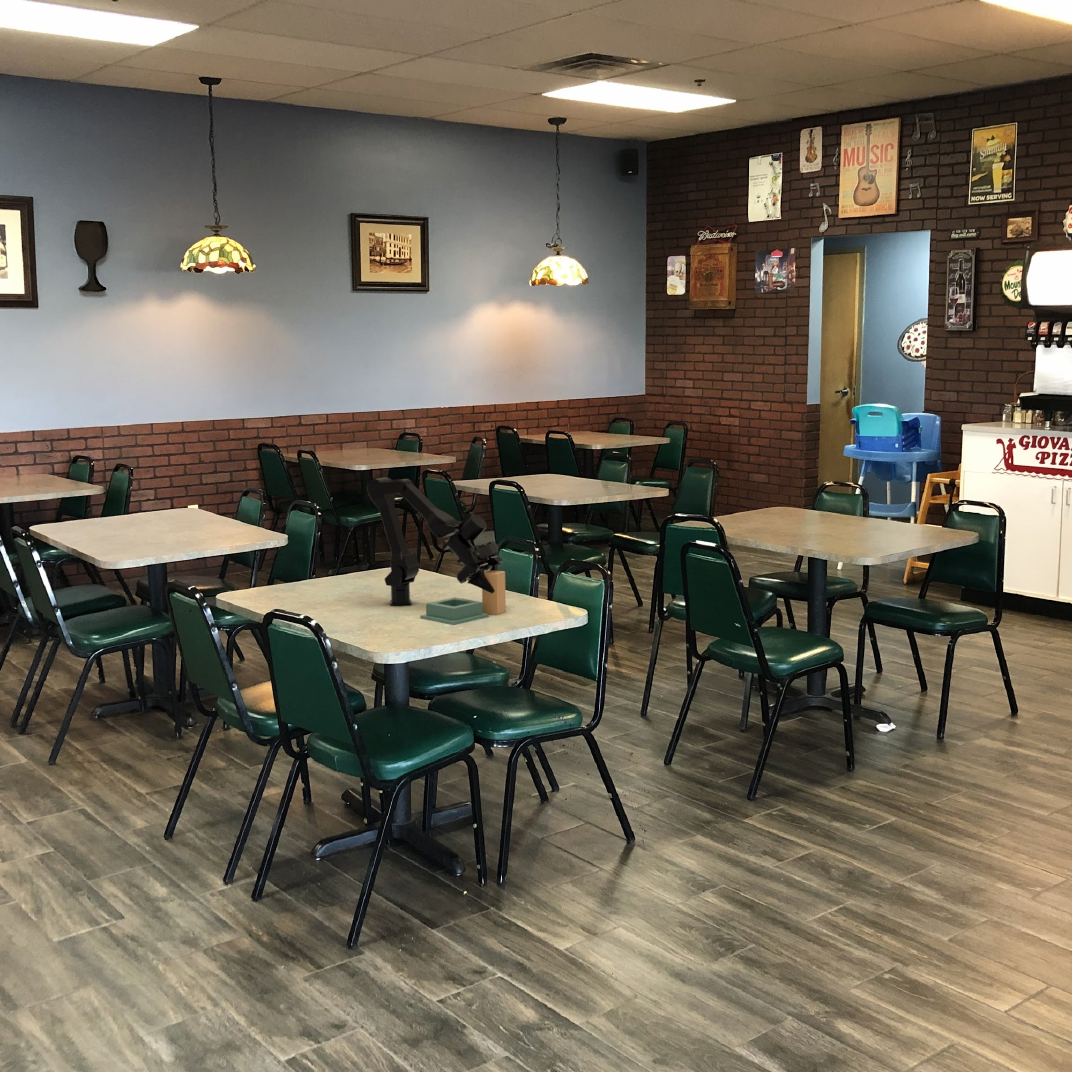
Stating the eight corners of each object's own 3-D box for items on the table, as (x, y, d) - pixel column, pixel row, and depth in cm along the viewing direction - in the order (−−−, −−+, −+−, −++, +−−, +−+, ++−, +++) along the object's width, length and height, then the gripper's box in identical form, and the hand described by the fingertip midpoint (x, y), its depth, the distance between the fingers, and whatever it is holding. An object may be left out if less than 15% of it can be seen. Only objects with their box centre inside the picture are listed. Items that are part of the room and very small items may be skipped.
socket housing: (420, 618, 350) (419, 603, 350) (455, 610, 360) (455, 596, 360) (453, 624, 341) (453, 609, 340) (488, 616, 351) (488, 602, 350)
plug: (482, 613, 356) (481, 573, 354) (490, 610, 360) (490, 570, 359) (497, 614, 354) (496, 574, 352) (505, 611, 358) (505, 571, 356)
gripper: (464, 537, 347) (499, 578, 344) (496, 529, 364) (529, 567, 360) (442, 562, 352) (475, 603, 349) (474, 553, 368) (506, 591, 365)
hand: (497, 590), depth 355 cm, fingers closed on plug, 5 cm apart
